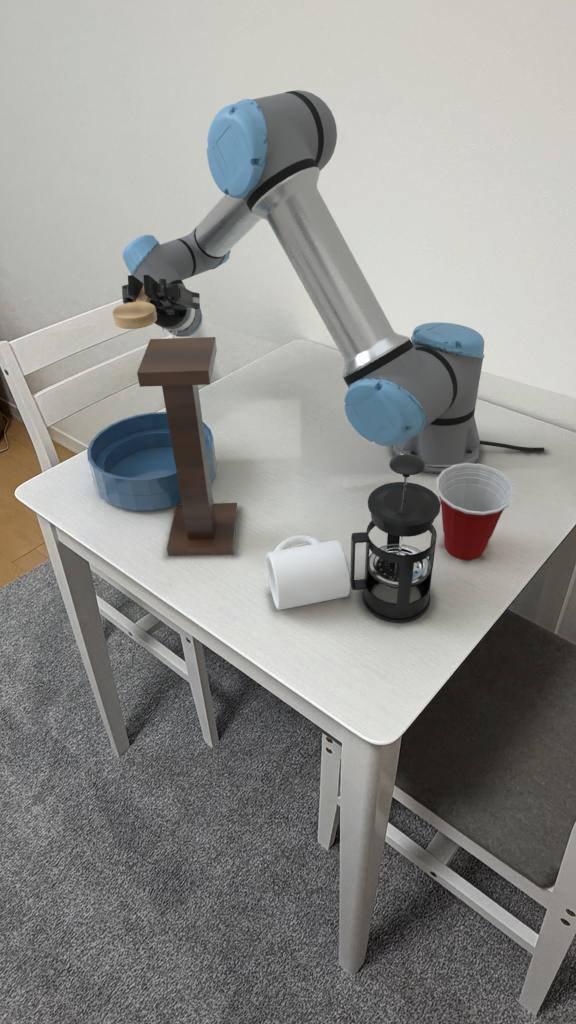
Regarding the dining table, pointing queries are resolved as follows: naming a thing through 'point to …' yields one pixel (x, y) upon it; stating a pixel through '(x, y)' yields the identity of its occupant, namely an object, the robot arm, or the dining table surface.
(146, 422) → the bowl
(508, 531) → the dining table surface
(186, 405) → the stand
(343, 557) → the mug
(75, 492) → the dining table surface
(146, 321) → the spoon
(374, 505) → the french press
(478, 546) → the plastic cup
